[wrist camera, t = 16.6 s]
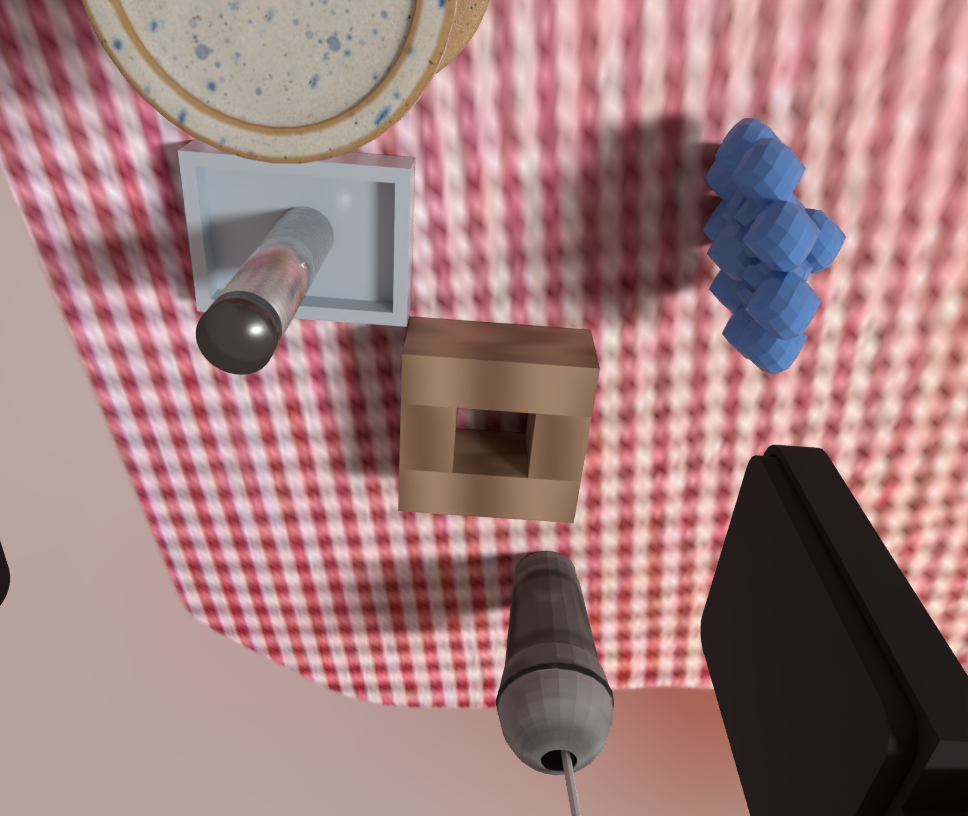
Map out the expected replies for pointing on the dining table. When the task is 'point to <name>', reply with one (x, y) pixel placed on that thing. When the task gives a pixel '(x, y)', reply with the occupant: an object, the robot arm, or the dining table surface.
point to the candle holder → (283, 66)
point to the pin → (265, 293)
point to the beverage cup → (553, 673)
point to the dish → (326, 188)
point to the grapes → (765, 246)
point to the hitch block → (500, 387)
